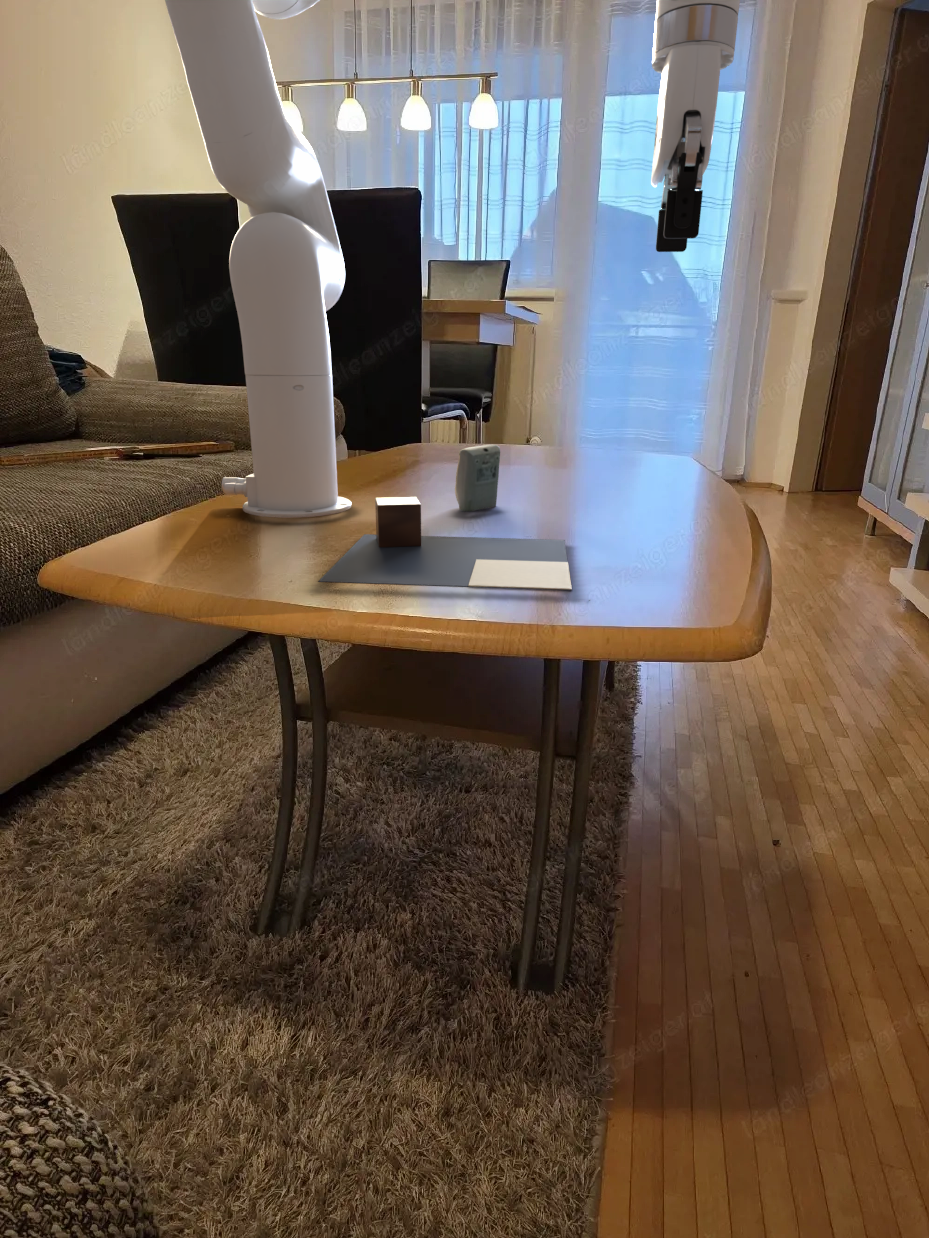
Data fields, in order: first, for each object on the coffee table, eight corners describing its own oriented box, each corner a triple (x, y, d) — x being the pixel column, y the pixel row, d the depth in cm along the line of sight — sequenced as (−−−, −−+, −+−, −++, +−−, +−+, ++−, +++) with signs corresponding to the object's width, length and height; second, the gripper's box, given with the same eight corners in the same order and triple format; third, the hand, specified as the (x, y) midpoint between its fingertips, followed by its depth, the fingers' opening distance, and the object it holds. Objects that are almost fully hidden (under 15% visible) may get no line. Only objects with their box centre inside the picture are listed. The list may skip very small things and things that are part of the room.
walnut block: (378, 547, 71) (377, 505, 69) (376, 538, 74) (375, 497, 73) (421, 546, 71) (421, 504, 70) (416, 536, 75) (416, 496, 74)
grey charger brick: (493, 520, 87) (494, 449, 84) (449, 518, 88) (449, 447, 85) (501, 510, 92) (502, 443, 89) (459, 508, 93) (459, 442, 90)
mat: (318, 590, 60) (317, 580, 60) (364, 541, 76) (364, 533, 76) (571, 599, 58) (571, 588, 58) (564, 547, 74) (564, 538, 74)
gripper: (647, 78, 80) (633, 256, 86) (660, 8, 64) (643, 232, 70) (720, 75, 79) (701, 255, 85) (753, 3, 63) (727, 231, 69)
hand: (675, 245), depth 77 cm, fingers open, 9 cm apart
